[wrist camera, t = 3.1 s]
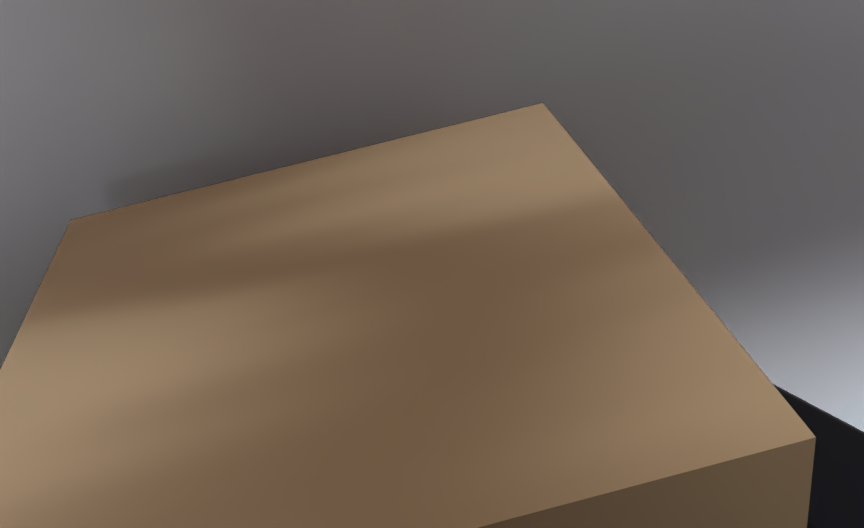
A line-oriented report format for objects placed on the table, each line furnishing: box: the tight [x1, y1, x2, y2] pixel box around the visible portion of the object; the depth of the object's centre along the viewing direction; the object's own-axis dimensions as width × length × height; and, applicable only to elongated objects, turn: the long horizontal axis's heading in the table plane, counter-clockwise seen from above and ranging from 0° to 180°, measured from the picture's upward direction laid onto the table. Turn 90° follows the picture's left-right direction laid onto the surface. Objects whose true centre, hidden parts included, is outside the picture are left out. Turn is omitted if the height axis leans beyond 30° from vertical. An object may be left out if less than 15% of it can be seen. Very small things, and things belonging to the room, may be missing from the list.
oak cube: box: [0, 103, 816, 528], centre depth 7 cm, size 5×5×5 cm
